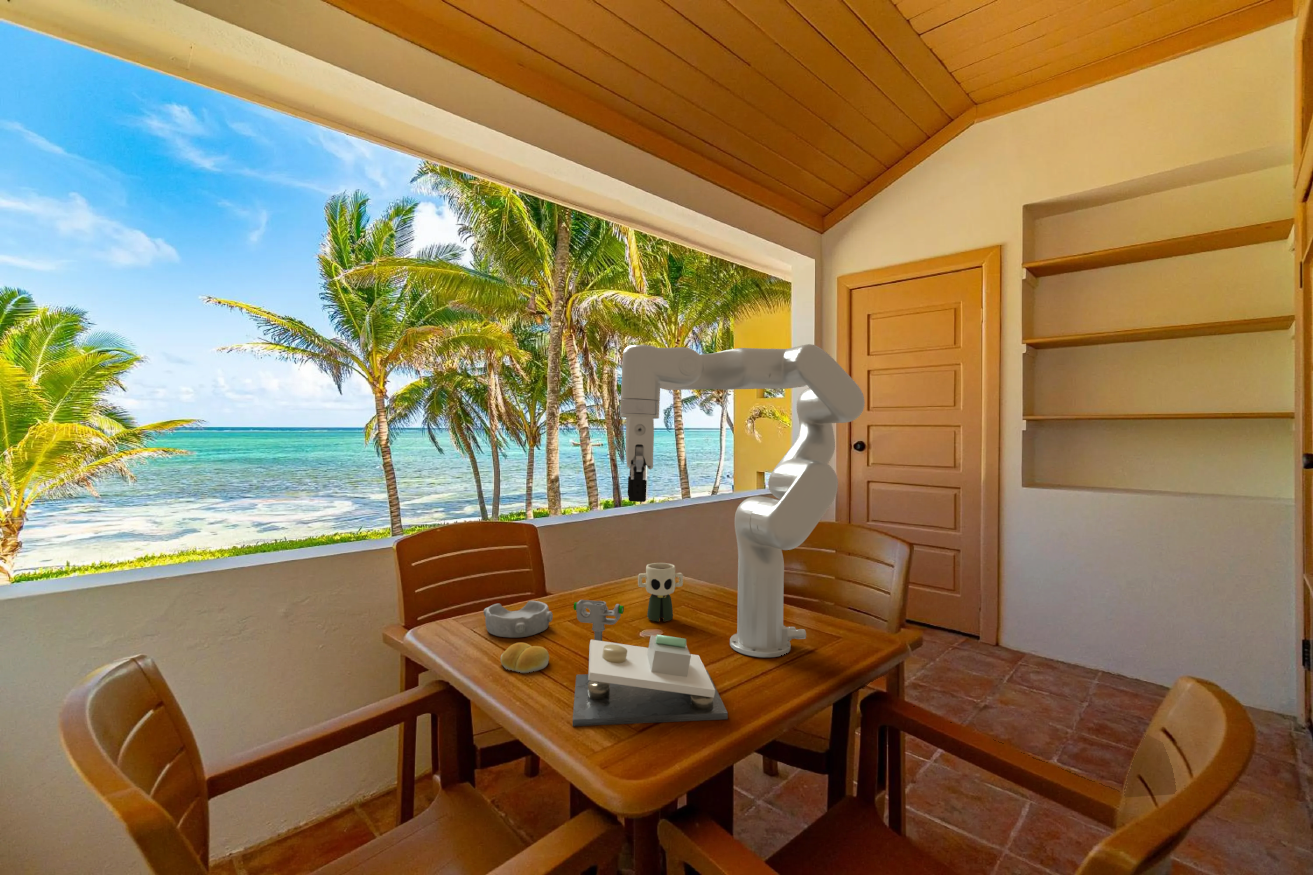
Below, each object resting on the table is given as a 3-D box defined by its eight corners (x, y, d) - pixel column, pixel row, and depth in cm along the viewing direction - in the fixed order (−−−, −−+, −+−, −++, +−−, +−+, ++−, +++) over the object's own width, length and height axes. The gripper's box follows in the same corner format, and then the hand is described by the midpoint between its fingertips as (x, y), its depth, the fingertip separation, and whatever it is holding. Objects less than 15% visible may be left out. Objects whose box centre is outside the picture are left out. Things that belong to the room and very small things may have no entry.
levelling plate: (697, 661, 101) (703, 628, 101) (713, 697, 87) (720, 659, 87) (589, 645, 99) (595, 612, 99) (588, 679, 85) (595, 640, 85)
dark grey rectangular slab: (707, 675, 102) (707, 660, 102) (727, 719, 87) (727, 701, 87) (576, 680, 100) (576, 664, 100) (572, 726, 84) (572, 707, 84)
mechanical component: (620, 656, 111) (620, 606, 111) (571, 652, 113) (572, 603, 113) (624, 651, 114) (624, 602, 114) (576, 646, 116) (577, 599, 116)
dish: (475, 627, 127) (476, 606, 127) (530, 615, 136) (530, 595, 136) (503, 646, 116) (503, 622, 116) (561, 631, 125) (561, 609, 125)
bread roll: (534, 677, 101) (534, 655, 101) (493, 669, 105) (494, 648, 105) (558, 660, 109) (558, 640, 109) (519, 653, 112) (519, 634, 112)
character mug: (638, 625, 130) (639, 569, 130) (636, 615, 137) (637, 562, 137) (684, 624, 131) (685, 569, 131) (680, 614, 138) (680, 562, 138)
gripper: (662, 408, 99) (658, 504, 98) (656, 413, 116) (652, 495, 116) (620, 406, 98) (616, 503, 98) (620, 411, 115) (616, 494, 115)
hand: (636, 498), depth 107 cm, fingers open, 9 cm apart
